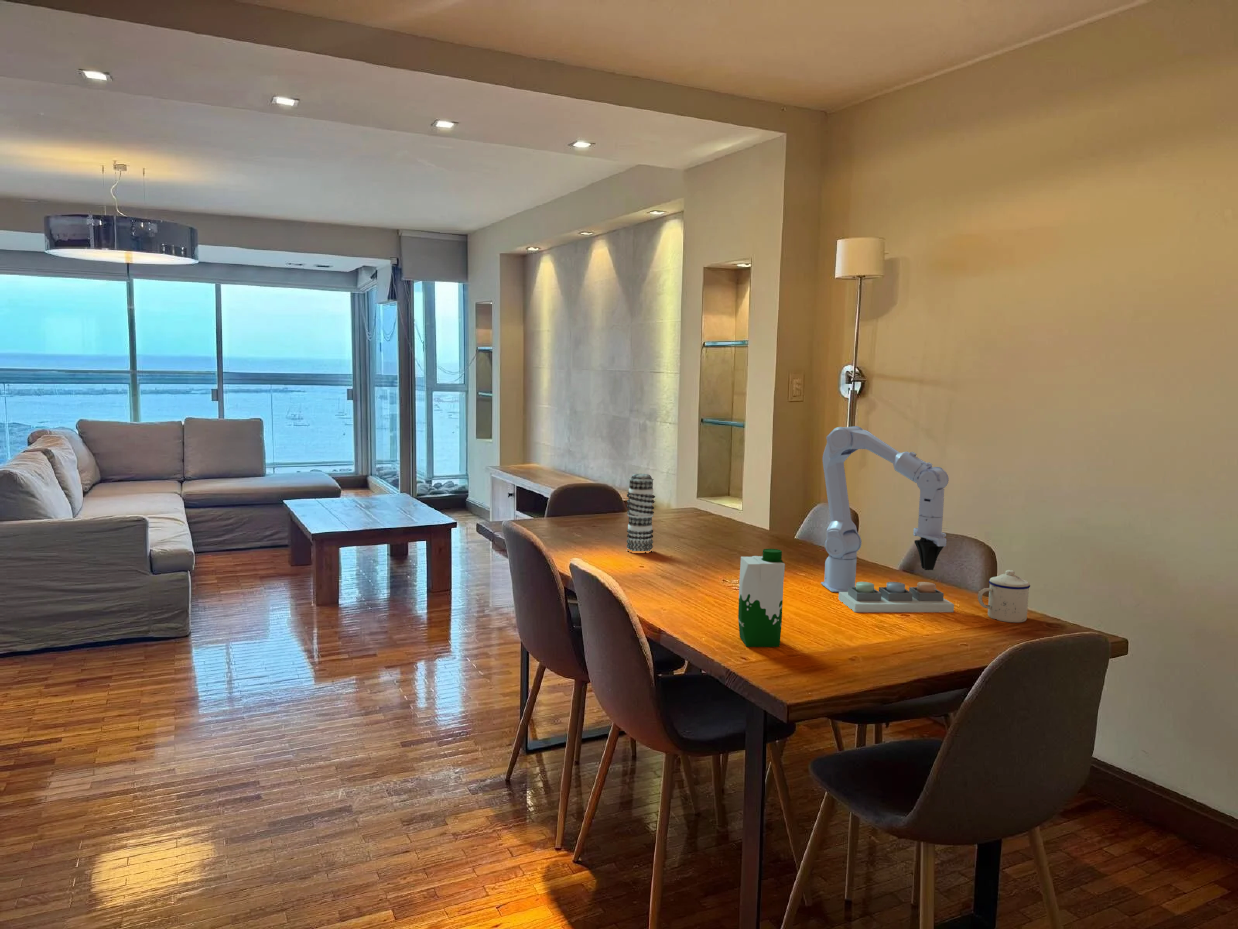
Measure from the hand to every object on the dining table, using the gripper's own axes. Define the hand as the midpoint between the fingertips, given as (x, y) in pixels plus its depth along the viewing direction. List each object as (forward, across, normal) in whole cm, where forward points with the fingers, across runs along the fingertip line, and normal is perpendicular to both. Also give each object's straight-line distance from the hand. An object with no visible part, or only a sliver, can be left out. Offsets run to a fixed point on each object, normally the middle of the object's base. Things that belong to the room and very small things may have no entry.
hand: (927, 569), depth 215 cm
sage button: (+6, 0, +16) cm, 17 cm away
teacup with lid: (+10, -11, -14) cm, 20 cm away
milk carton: (+10, -29, +50) cm, 59 cm away
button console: (+9, 0, +8) cm, 12 cm away
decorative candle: (+10, +66, +66) cm, 94 cm away
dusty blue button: (+6, 0, +8) cm, 10 cm away
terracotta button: (+6, 0, 0) cm, 6 cm away
